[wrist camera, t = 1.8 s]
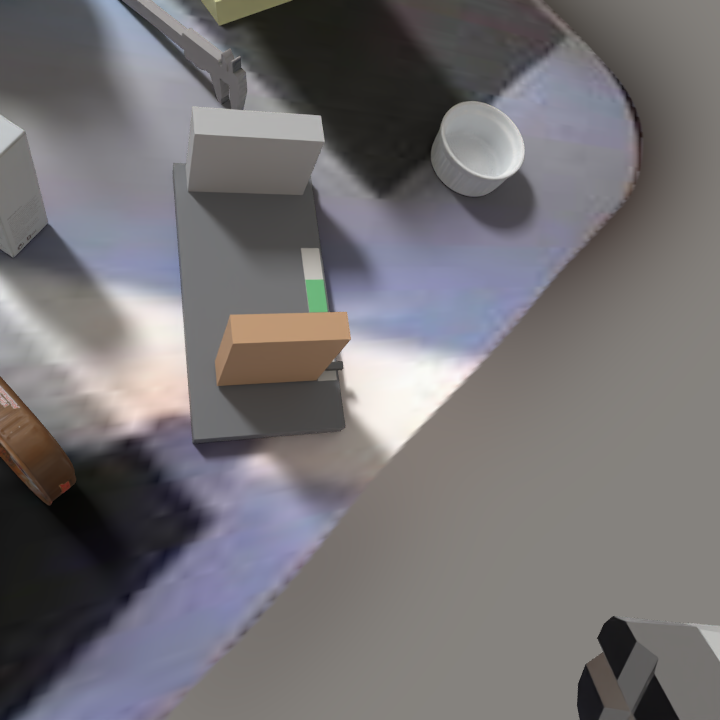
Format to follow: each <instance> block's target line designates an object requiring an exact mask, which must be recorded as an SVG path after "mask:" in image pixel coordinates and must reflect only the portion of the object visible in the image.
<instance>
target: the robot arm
mask: <svg viewBox="0 0 720 720" xmlns="http://www.w3.org/2000/svg"><path fill="white" fill-rule="evenodd" d="M597 639H598V641H599V644H600V646H601V649H602V651H603V652H602V653H601V654H599V655H598V656H596V657H595V658H594V659H592V660H591V661H589V662H588V663H586V665H585V667H584V670H583V673H582V675H581V678H580V680H579V683H578V699H577V707H578V713H579V718H580V720H720V626H715V625H704V624H693V623H686V624H683V623H677V622H667V621H658V620H648V619H638V618H628V617H618V616H613V617H611V618H610V619H609V620H608V621H607V622H606V623H604V625H603V627H602V630H601V632H600V634H599V636H598V638H597Z"/></svg>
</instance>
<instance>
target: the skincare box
mask: <svg viewBox="0 0 720 720" xmlns="http://www.w3.org/2000/svg"><path fill="white" fill-rule="evenodd" d="M47 223H48V219H47V215H46V211H45V208H44V203H43V200H42V196H41V192H40V188H39V184H38V180H37V176H36V172H35V168H34V164H33V160H32V156H31V152H30V148H29V144H28V140H27V136H26V133H25V131H24V130H23V129H21V128H20V127H18V126H17V125H15V124H14V123H12V122H11V121H9V120H8V119H6V118H5V117H3V116H2V115H0V249H1V250H2V251H4V252H5V253H7V254H9V255H10V256H11V257H15V256H16V255H17V254H18V253H19V252H20V251H21V250H22V249H23V248H24V247H25V246H26V245H27V244H28V243H29V242H30V241H31V240H32V239H33V238H34V237H35V236H36V235H37V234H38V233H39V232H40V231H41V230H42V229H43V228H44V227H45V226H46V224H47Z"/></svg>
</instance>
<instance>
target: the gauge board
mask: <svg viewBox="0 0 720 720" xmlns="http://www.w3.org/2000/svg"><path fill="white" fill-rule="evenodd" d="M324 142H325V141H324V134H323V127H322V120H321V116H319V115H305V114H291V113H277V112H263V111H249V110H235V109H221V108H207V107H193V106H192V114H191V123H190V132H189V141H188V150H187V159H186V164H184V163H173V185H174V198H175V212H176V225H177V239H178V252H179V266H180V279H181V293H182V307H183V320H184V334H185V347H186V361H187V374H188V388H189V401H190V415H191V429H192V442H193V443H205V442H217V441H229V440H241V439H253V438H265V437H277V436H289V435H301V434H313V433H325V432H337V431H341V430H343V429H344V428H345V421H344V413H343V406H342V399H341V392H340V384H339V377H338V370H333V371H324V372H323V373H322V374H321V375H320V377H319V378H318V379H317V380H314V381H296V382H279V383H261V384H244V385H227V386H217V382H216V370H215V359H216V356H217V353H218V350H219V347H220V344H221V341H222V338H223V335H224V332H225V329H226V326H227V323H228V320H229V317H230V315H239V314H279V313H320V312H329V305H328V297H327V290H326V283H325V276H324V268H323V261H322V254H321V247H320V239H319V232H318V225H317V218H316V210H315V203H314V196H313V189H312V181H311V173H312V171H313V169H314V166H315V164H316V161H317V159H318V156H319V154H320V152H321V149H322V147H323V144H324ZM332 362H336V357H335V359H334V360H333V361H332Z"/></svg>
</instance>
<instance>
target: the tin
mask: <svg viewBox="0 0 720 720" xmlns="http://www.w3.org/2000/svg"><path fill="white" fill-rule="evenodd" d="M0 457H1V458H2V459H3V460H4V461H5V462H6V463H7V465H8V466H9V467H10V468H11V469H12V470H13V471H14V472H15V473H16V475H17V476H18V477H19V478H20V479H21V480H22V481H23V482H24V483H25V484H26V485H27V486H28V487H29V488H30V489H31V490H32V491H33V492H34V493H35V494H36V495H37V496H38V497H39V498H40V499H41V500H42V501H43V502H45V503H46V504H47V505H51V504H52V502H53V501H54V500H55V499H56V498H57V497H59V496H60V495H61V494H63V493H64V492H65V491H67V490H68V489H69V488H70V487H71V486H73V485H74V484H75V482H76V477H75V473H74V468H73V465H72V463H71V461H70V460H69V458H68V457H67V455H66V454H65V452H64V451H63V450H62V448H61V447H60V445H59V444H58V443H57V441H56V440H55V439H54V438H53V436H52V435H51V434H50V433H49V431H48V430H47V429H46V428H45V427H44V426H43V424H42V423H41V422H40V421H39V420H38V418H37V417H36V416H35V415H34V414H33V413H32V412H31V410H30V409H29V408H28V407H27V406H26V405H25V404H24V403H23V401H22V400H21V399H20V398H19V397H18V396H17V395H16V393H15V392H14V391H13V390H12V389H11V388H10V387H9V385H8V384H7V383H6V382H5V381H4V380H3V379H2V378H1V377H0Z"/></svg>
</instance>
